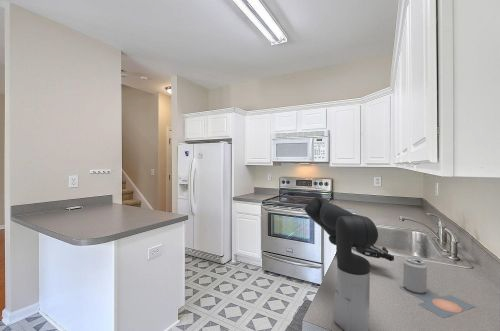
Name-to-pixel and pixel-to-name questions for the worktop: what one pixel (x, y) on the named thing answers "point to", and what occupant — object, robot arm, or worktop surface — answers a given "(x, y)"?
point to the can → (415, 275)
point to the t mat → (441, 303)
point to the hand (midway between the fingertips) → (392, 258)
